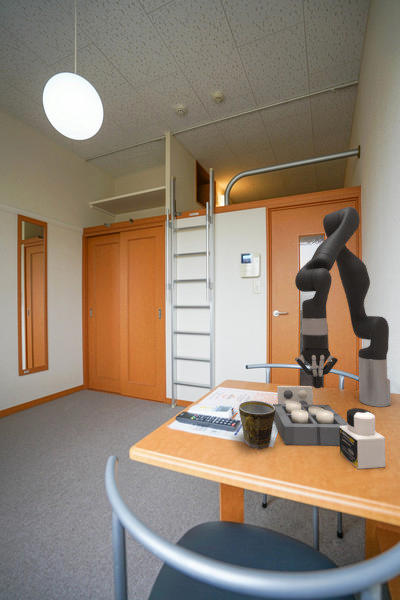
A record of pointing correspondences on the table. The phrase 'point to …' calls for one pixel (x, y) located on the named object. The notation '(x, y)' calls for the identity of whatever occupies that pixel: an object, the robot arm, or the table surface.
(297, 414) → the button
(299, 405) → the button
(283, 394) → the card
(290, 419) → the board
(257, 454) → the table surface
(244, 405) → the ceramic cup
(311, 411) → the button
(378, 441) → the medicine bottle
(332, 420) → the button
